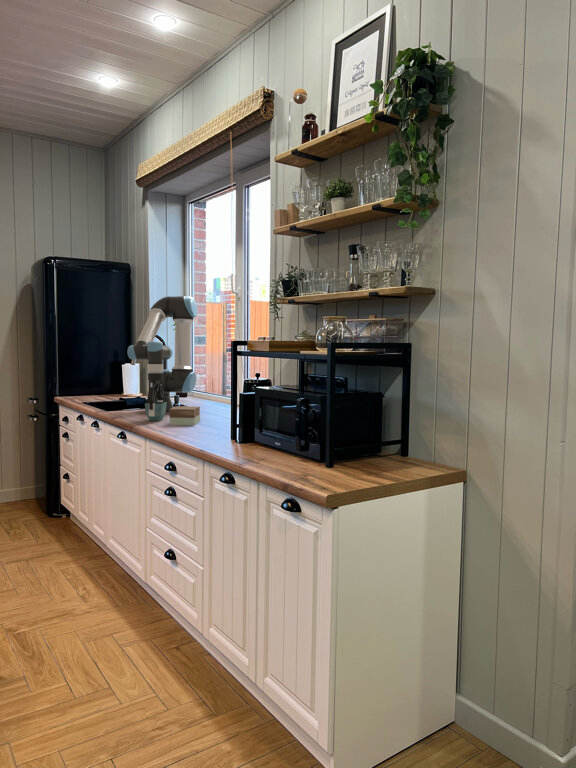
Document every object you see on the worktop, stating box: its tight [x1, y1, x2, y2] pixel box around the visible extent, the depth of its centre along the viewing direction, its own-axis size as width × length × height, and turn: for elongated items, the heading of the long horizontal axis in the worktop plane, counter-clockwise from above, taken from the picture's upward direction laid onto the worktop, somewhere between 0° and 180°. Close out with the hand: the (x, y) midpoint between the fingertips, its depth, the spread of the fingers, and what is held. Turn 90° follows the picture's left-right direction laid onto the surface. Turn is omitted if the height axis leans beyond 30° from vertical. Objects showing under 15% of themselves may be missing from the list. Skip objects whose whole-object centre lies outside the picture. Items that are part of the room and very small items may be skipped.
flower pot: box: [144, 402, 167, 422], centre depth 295 cm, size 9×9×9 cm
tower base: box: [169, 414, 201, 426], centre depth 286 cm, size 12×12×4 cm
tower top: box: [168, 405, 201, 419], centre depth 285 cm, size 12×12×4 cm
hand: (155, 414), depth 294 cm, fingers open, 13 cm apart
